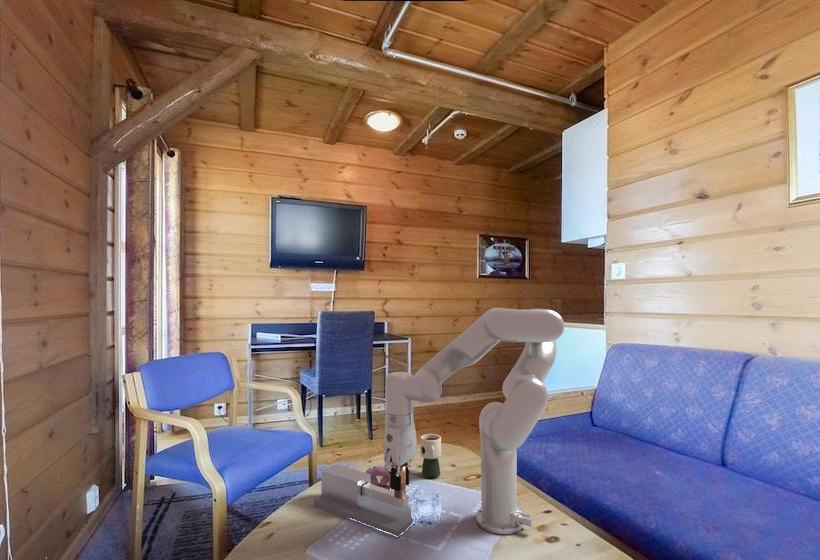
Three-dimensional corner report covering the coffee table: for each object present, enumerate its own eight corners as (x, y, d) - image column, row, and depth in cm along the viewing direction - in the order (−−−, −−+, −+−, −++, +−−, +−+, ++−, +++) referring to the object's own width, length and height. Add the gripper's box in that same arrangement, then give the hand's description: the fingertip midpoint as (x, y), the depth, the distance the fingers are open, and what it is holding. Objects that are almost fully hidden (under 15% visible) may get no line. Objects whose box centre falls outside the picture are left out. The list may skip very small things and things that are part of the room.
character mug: (419, 469, 144) (418, 432, 144) (438, 468, 144) (438, 431, 145) (422, 483, 133) (422, 443, 134) (443, 482, 134) (443, 442, 134)
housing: (370, 499, 119) (370, 474, 119) (357, 508, 114) (357, 482, 114) (335, 488, 126) (335, 463, 127) (321, 495, 121) (321, 470, 122)
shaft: (409, 504, 110) (409, 465, 110) (402, 509, 107) (402, 469, 108) (351, 485, 121) (351, 450, 122) (344, 489, 118) (344, 453, 119)
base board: (422, 516, 113) (422, 510, 113) (398, 538, 103) (398, 531, 103) (341, 489, 129) (341, 484, 129) (313, 505, 119) (313, 500, 119)
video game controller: (394, 490, 131) (395, 466, 135) (392, 490, 127) (393, 465, 131) (364, 489, 132) (366, 465, 136) (361, 488, 128) (363, 464, 132)
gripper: (393, 428, 102) (393, 503, 101) (426, 413, 116) (426, 478, 115) (370, 424, 106) (370, 495, 105) (404, 409, 120) (404, 472, 119)
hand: (399, 486), depth 110 cm, fingers closed on shaft, 3 cm apart
